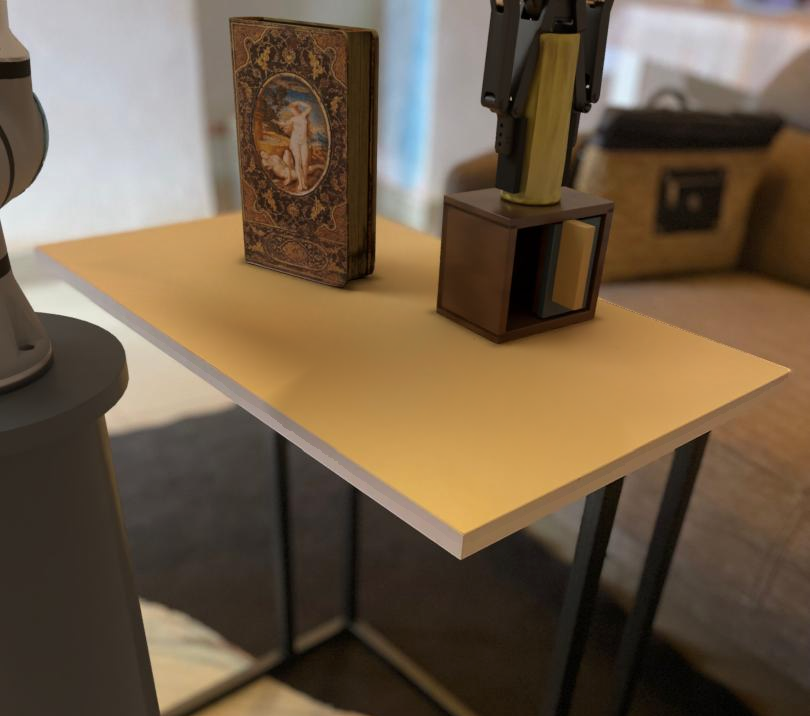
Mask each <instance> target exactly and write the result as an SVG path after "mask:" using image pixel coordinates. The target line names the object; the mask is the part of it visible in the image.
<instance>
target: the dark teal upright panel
mask: <svg viewBox="0 0 810 716" xmlns="http://www.w3.org/2000/svg"><path fill="white" fill-rule="evenodd" d="M600 221H601V217H600V216H597V215H595V216H589V217H584V218H578V219H572V220H567V221H561V222H555V223H550V229H549V236H548V243H547V250H546V257H545V265H544V272H543V279H542V286H541V293H540V301H539V308H538V315H537V316H538V317H540V318H546V317H550V316H554V315H558V314H562V313H566V312H570V311H574V310H578V309H582V308H585V307H586V302H587V296H588V290H589V284H590V279H591V273H592V267H593V261H594V255H595V250H596V244H597V238H598V232H599V226H600Z"/></svg>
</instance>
